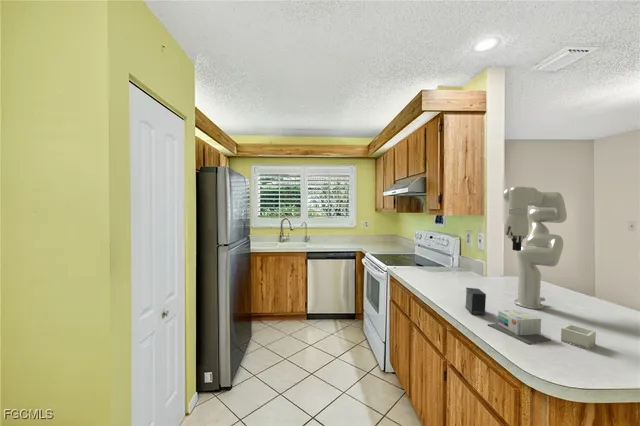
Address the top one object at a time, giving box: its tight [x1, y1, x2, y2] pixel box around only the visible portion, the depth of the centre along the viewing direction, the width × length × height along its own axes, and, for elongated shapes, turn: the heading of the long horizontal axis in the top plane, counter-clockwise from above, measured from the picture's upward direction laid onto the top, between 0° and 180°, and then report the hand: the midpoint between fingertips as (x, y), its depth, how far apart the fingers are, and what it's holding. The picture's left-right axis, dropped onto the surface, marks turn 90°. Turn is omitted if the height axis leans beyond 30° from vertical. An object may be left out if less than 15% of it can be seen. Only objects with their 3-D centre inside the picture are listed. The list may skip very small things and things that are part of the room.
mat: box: [487, 322, 552, 345], centre depth 119 cm, size 12×18×1 cm, turn 18°
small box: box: [464, 287, 487, 316], centre depth 142 cm, size 11×6×10 cm, turn 168°
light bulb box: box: [497, 308, 542, 335], centre depth 121 cm, size 11×7×11 cm
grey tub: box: [560, 323, 597, 350], centre depth 111 cm, size 8×8×5 cm
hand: (516, 250), depth 139 cm, fingers closed
